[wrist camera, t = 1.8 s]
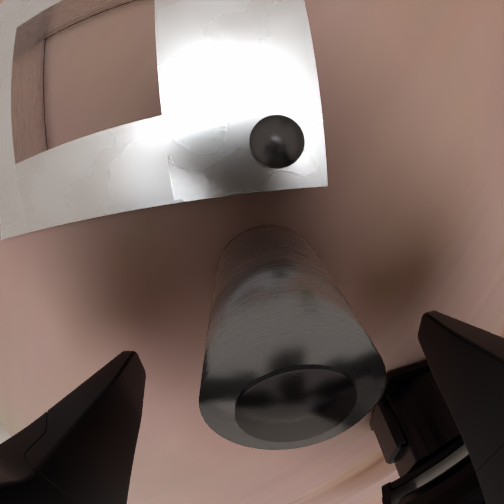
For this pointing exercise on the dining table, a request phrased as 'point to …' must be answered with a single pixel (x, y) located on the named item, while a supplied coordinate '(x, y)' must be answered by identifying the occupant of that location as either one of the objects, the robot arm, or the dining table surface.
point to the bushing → (283, 347)
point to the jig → (165, 113)
